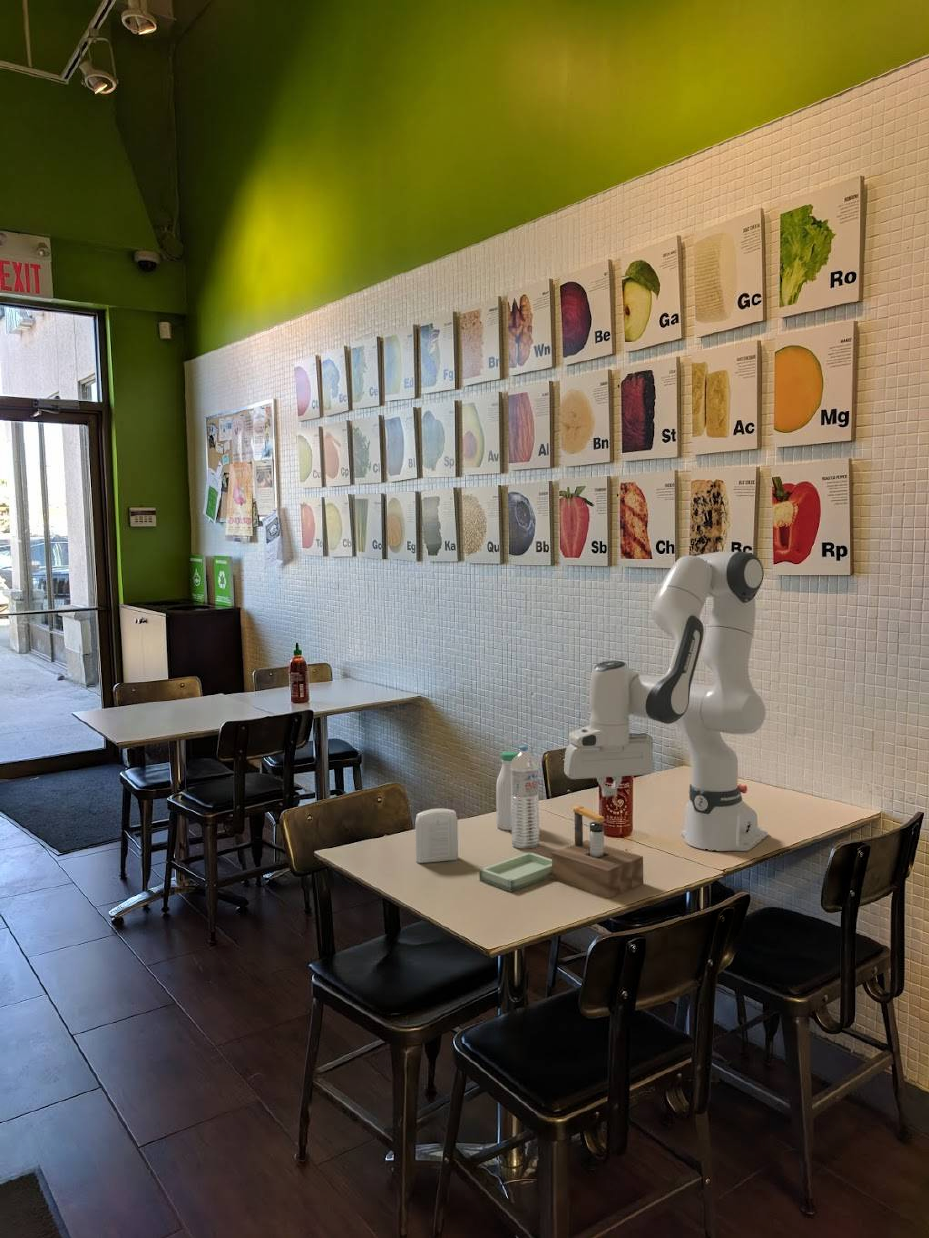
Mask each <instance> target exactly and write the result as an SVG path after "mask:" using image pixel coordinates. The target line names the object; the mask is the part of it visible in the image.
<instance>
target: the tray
mask: <svg viewBox="0 0 929 1238" xmlns="http://www.w3.org/2000/svg"><path fill="white" fill-rule="evenodd" d="M478 872H479V873H478V874H479V877H478V878H479V881H480V882H483V883H486V884H488V885H491V886H494V887H496V888H498V889H501V890H504V891H507V892H509V893H513V892H516V891H518V890H521V889H523V888H526V887H529V886H531V885H533V884H536V883H539V882H541V881H544V880H547V879H549V878H552V858H549V857H546V856H542V855H540V854H537V853H534V852H530V851H528V852H525V853H522V854H519V855H517V856H513V857H511V858H508V859H506V860H505V859H504V860H502V861H500V862H496V863H494V864H491V865H488V866H485V867H482V868H479V869H478ZM546 878H547V879H546Z"/></svg>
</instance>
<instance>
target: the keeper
mask: <svg viewBox="0 0 929 1238" xmlns="http://www.w3.org/2000/svg"><path fill="white" fill-rule="evenodd" d="M572 812H573V814H574V813H578V814H580V815H582V817H584V818H587V819H589V820H591V821H592V822H597V823H599V822H602V823H604V822H605V817H604V816H602V815H600V814H599V813H596V812H594V811H592V810H589V809H587V808H585V807H584V806H581V805H574V806H573V807H572Z"/></svg>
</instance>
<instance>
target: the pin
mask: <svg viewBox="0 0 929 1238" xmlns="http://www.w3.org/2000/svg"><path fill="white" fill-rule="evenodd" d="M604 826H605V825H604V822H599V823H597V822H595V821H592V822H590V823H589V841H590V857H593V858H597V859H600V858H602V857H604V845H605V841H604V840H605V838H604V836H605V831H604V830H605V829H604V828H605V827H604Z"/></svg>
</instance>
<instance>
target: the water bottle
mask: <svg viewBox="0 0 929 1238" xmlns="http://www.w3.org/2000/svg"><path fill="white" fill-rule="evenodd" d="M538 765H539V764H538V761H537V759H536V758H535V757H534V756H533V755H532V754H531V753H529V752H528V746H527V745H520V746H519V752H518V754H517V755H516V756H515V757H514V758H513V760H512V761H511V763H510V769H511V819H512V820H511V822H512V824H511V825H512V831H511V844H512V846H513V847H515V848H516V849H519V850H532V849H535V848H537V847H538V846H539V844H540V815H539V814H540V813H539V812H540V811H539V809H540V808H539V807H540V805H539V804H540V803H539V787H538V785H539V784H538V783H539V779H538V777H539V776H538V769H539V766H538Z"/></svg>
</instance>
